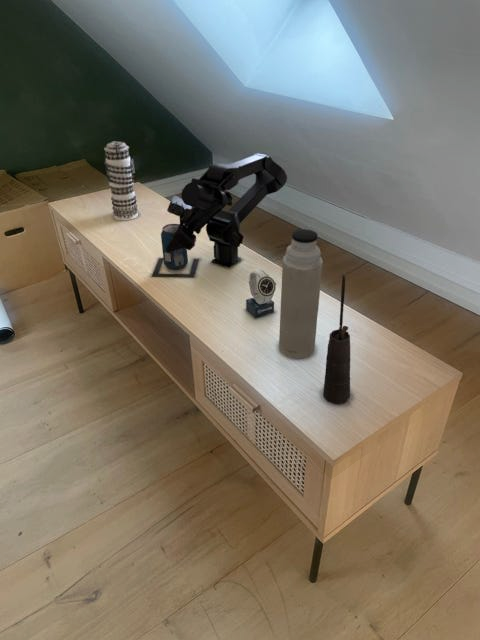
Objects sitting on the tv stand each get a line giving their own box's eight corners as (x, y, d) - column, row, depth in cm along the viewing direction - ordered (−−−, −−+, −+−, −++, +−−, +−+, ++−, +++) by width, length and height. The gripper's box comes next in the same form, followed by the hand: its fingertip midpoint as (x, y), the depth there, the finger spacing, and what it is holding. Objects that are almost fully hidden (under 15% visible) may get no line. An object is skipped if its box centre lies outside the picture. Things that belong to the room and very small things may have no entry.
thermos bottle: (271, 349, 112) (275, 234, 96) (292, 333, 117) (298, 221, 102) (301, 363, 108) (310, 246, 92) (321, 346, 113) (333, 231, 97)
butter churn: (334, 370, 106) (349, 251, 90) (371, 394, 100) (394, 270, 84) (304, 390, 101) (314, 267, 85) (341, 415, 95) (359, 288, 79)
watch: (258, 322, 121) (259, 283, 115) (242, 306, 127) (242, 268, 121) (278, 316, 123) (280, 277, 117) (261, 301, 129) (262, 263, 123)
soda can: (174, 258, 149) (170, 220, 143) (193, 264, 146) (190, 226, 139) (159, 267, 145) (154, 229, 138) (178, 274, 141) (174, 235, 135)
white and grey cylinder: (111, 212, 179) (100, 140, 165) (137, 209, 182) (128, 138, 168) (114, 222, 172) (102, 148, 158) (141, 218, 175) (131, 145, 160)
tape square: (159, 258, 149) (158, 258, 149) (198, 259, 149) (198, 258, 149) (151, 276, 140) (151, 276, 140) (194, 277, 140) (194, 276, 140)
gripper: (189, 176, 140) (154, 212, 147) (178, 201, 124) (139, 240, 131) (218, 204, 144) (182, 238, 151) (210, 231, 128) (171, 268, 135)
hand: (169, 245), depth 142 cm, fingers closed on soda can, 7 cm apart
